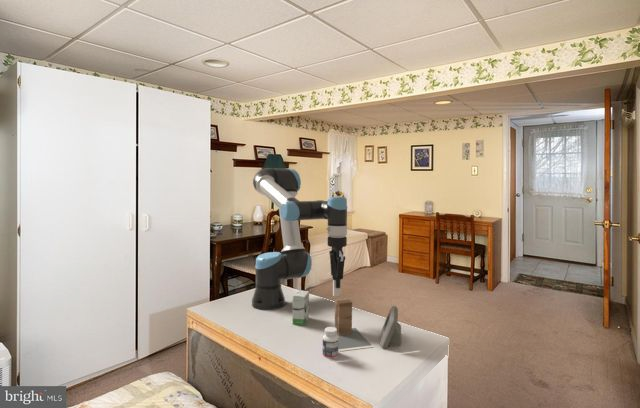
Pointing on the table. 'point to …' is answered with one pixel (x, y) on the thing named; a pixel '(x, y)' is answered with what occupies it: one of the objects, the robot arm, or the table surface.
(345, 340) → the mat
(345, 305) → the block
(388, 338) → the digital clock
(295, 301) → the ink box
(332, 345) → the pill bottle
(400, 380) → the table surface
